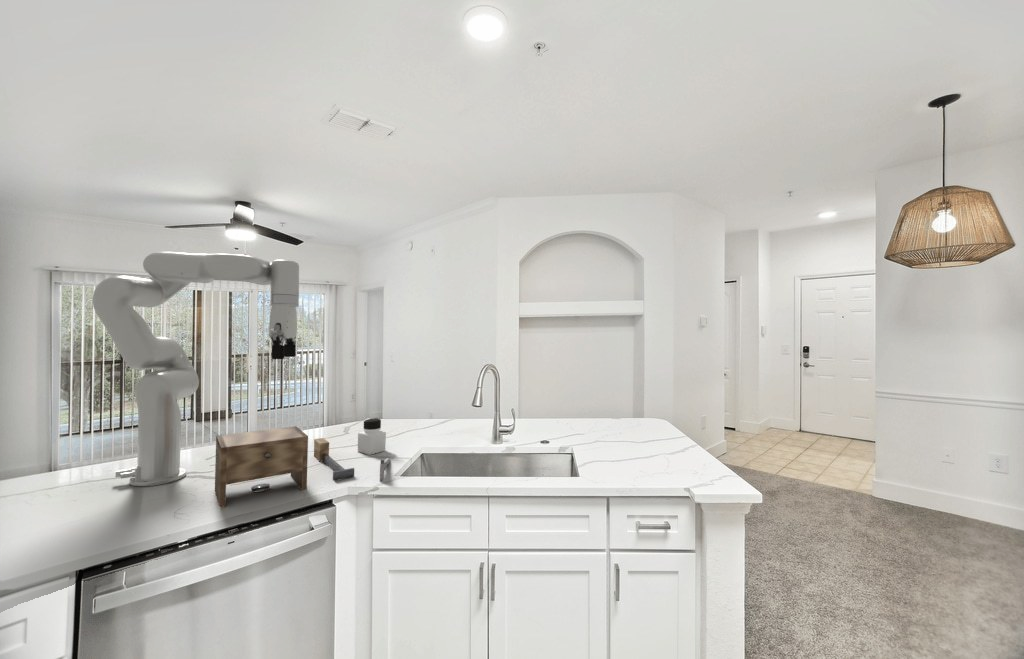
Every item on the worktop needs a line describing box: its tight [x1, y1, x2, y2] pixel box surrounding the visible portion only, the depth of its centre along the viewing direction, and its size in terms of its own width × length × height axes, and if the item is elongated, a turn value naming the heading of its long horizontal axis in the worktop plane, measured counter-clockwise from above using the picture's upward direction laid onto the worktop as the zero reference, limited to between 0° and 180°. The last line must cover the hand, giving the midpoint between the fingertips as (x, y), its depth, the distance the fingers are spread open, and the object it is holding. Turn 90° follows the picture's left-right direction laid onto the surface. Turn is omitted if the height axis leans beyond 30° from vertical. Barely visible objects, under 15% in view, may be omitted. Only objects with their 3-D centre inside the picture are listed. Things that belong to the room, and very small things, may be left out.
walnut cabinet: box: [214, 426, 309, 508], centre depth 114 cm, size 20×15×15 cm
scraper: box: [313, 437, 355, 482], centre depth 136 cm, size 6×28×6 cm, turn 40°
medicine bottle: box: [357, 417, 387, 456], centre depth 153 cm, size 7×7×12 cm
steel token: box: [250, 482, 271, 492], centre depth 116 cm, size 4×4×1 cm
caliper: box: [379, 457, 391, 482], centre depth 133 cm, size 20×1×6 cm, turn 11°
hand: (284, 357), depth 125 cm, fingers open, 9 cm apart
